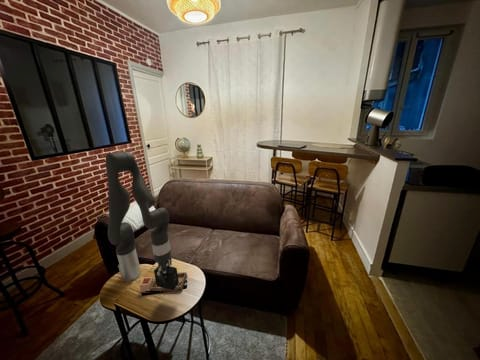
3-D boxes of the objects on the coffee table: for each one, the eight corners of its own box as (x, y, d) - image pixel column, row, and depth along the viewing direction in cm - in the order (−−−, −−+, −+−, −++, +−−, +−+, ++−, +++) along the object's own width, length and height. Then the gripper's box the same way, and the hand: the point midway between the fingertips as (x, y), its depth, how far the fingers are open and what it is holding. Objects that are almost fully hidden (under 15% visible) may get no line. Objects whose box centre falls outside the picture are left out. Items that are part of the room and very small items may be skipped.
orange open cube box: (141, 292, 102) (139, 284, 100) (145, 284, 107) (143, 277, 105) (150, 292, 102) (148, 284, 100) (154, 284, 107) (152, 277, 105)
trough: (151, 292, 102) (150, 288, 101) (159, 276, 112) (158, 273, 111) (181, 291, 101) (181, 287, 101) (187, 276, 111) (186, 272, 111)
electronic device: (174, 290, 92) (171, 273, 89) (156, 286, 95) (153, 269, 92) (179, 284, 96) (176, 267, 93) (162, 279, 99) (159, 263, 96)
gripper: (160, 240, 96) (164, 268, 101) (146, 260, 82) (152, 291, 88) (174, 240, 96) (179, 268, 101) (163, 260, 82) (169, 291, 87)
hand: (166, 279), depth 94 cm, fingers closed on electronic device, 3 cm apart
